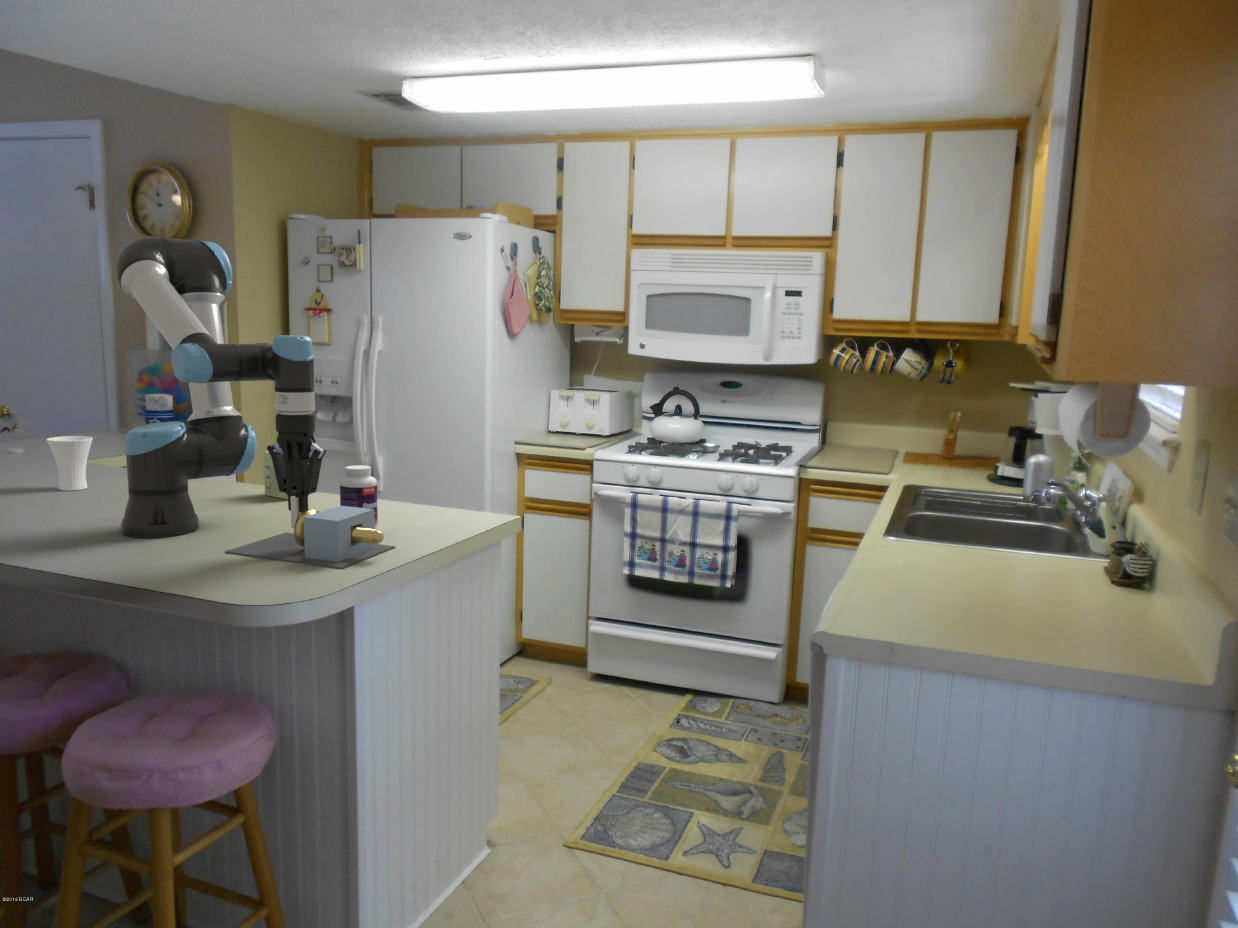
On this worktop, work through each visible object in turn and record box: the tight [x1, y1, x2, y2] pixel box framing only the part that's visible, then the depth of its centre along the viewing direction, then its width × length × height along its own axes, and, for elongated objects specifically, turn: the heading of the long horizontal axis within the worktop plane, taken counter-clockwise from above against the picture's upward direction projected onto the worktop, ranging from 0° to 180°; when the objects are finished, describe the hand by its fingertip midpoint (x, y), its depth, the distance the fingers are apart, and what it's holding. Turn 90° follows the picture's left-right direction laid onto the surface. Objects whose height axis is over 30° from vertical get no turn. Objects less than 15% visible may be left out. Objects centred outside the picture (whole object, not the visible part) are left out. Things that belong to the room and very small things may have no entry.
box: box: [263, 450, 288, 501], centre depth 236 cm, size 10×6×12 cm, turn 58°
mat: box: [224, 532, 396, 570], centre depth 184 cm, size 28×18×1 cm, turn 71°
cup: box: [46, 435, 94, 492], centre depth 238 cm, size 10×10×14 cm
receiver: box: [304, 505, 376, 562], centre depth 181 cm, size 8×12×8 cm, turn 161°
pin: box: [293, 508, 385, 547], centre depth 181 cm, size 18×8×8 cm, turn 71°
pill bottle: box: [339, 464, 379, 530], centre depth 201 cm, size 8×8×14 cm
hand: (298, 526), depth 184 cm, fingers closed
